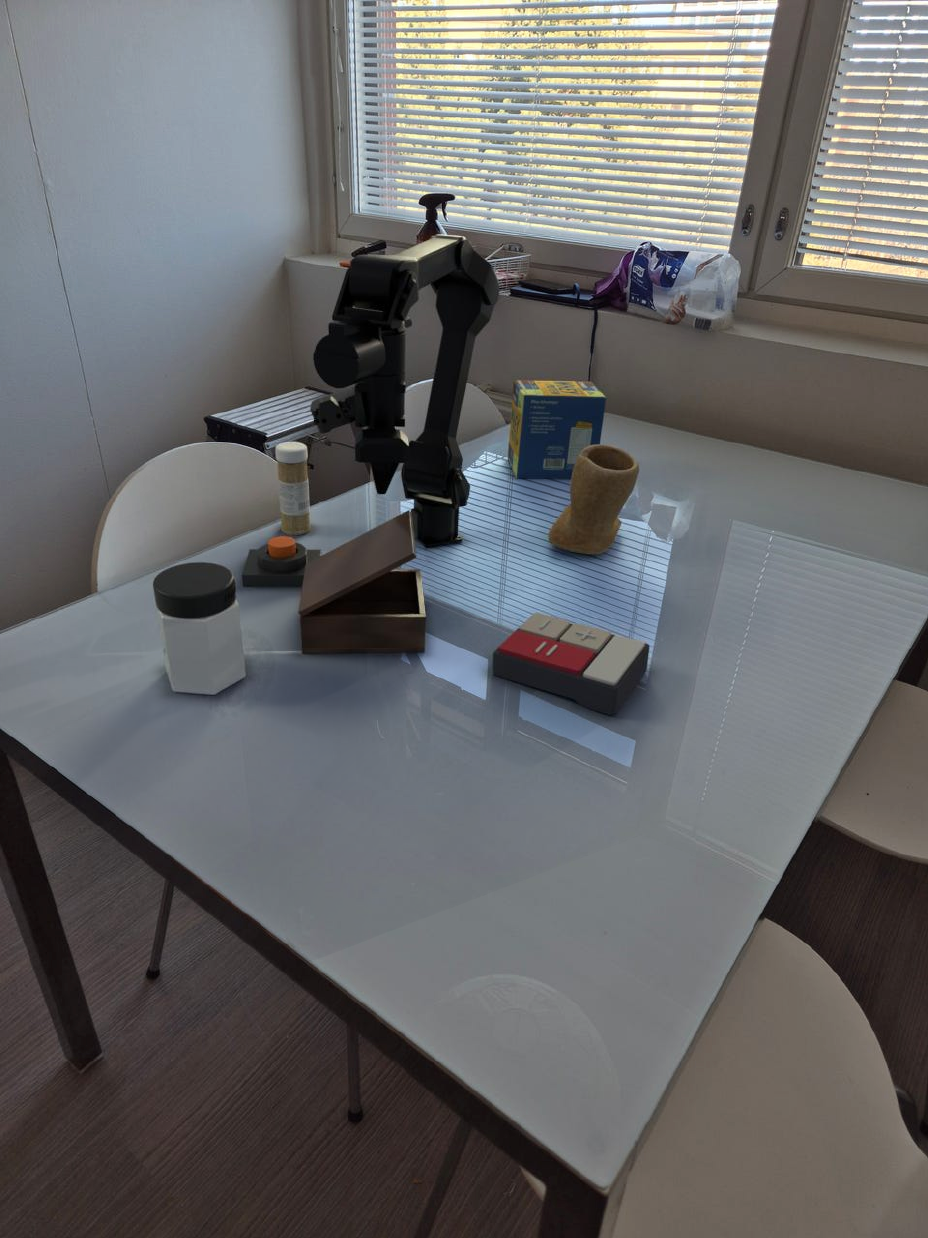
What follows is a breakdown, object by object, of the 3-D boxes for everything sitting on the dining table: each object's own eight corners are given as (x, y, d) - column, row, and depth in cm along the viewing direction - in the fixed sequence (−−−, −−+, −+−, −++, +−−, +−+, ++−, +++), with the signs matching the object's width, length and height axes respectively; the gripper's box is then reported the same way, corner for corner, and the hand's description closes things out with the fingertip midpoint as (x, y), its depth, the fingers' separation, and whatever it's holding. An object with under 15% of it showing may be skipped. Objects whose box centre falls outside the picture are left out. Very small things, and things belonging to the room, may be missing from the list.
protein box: (506, 459, 159) (512, 379, 151) (583, 460, 161) (593, 381, 153) (515, 478, 150) (522, 394, 142) (596, 479, 152) (608, 395, 144)
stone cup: (616, 567, 120) (631, 470, 112) (538, 551, 124) (549, 455, 116) (637, 530, 132) (652, 440, 125) (566, 516, 136) (577, 427, 128)
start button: (296, 547, 113) (296, 536, 112) (294, 559, 110) (293, 547, 109) (270, 547, 113) (269, 535, 112) (267, 558, 110) (266, 547, 109)
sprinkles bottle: (301, 522, 128) (297, 438, 122) (316, 532, 126) (312, 447, 119) (275, 528, 126) (269, 443, 119) (290, 539, 123) (284, 452, 116)
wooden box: (419, 602, 108) (420, 568, 106) (424, 652, 97) (425, 617, 95) (309, 602, 106) (307, 568, 104) (301, 653, 96) (299, 617, 93)
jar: (252, 687, 89) (243, 590, 83) (175, 704, 86) (159, 604, 80) (234, 647, 96) (224, 555, 90) (162, 661, 93) (146, 566, 87)
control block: (321, 561, 117) (320, 539, 115) (318, 587, 110) (317, 564, 108) (250, 561, 116) (248, 538, 114) (242, 587, 109) (240, 564, 107)
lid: (411, 514, 102) (409, 509, 101) (416, 557, 91) (413, 552, 91) (308, 568, 104) (305, 563, 104) (301, 616, 93) (298, 612, 93)
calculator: (533, 607, 101) (651, 638, 94) (532, 638, 103) (647, 670, 96) (491, 646, 92) (618, 683, 86) (490, 679, 94) (614, 717, 88)
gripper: (317, 351, 105) (322, 467, 113) (307, 389, 89) (313, 521, 97) (404, 353, 106) (402, 468, 114) (410, 391, 90) (407, 521, 98)
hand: (381, 492), depth 106 cm, fingers closed
